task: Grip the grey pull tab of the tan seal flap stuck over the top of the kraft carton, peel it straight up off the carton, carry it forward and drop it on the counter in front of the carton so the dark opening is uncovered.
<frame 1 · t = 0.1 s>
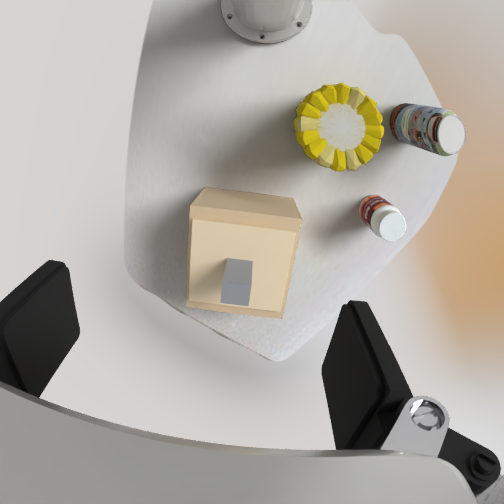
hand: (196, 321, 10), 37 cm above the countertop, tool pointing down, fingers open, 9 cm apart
pill bottle: (372, 208, 46), on the countertop
food: (322, 125, 41), on the countertop
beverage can: (406, 125, 40), on the countertop
flap: (239, 267, 39), point 10 cm above the countertop, touching carton
carton: (243, 237, 48), on the countertop
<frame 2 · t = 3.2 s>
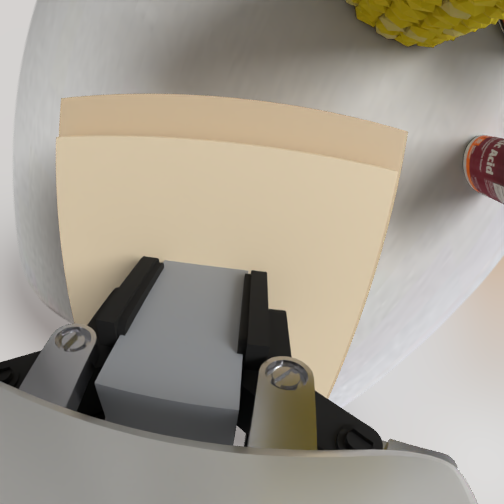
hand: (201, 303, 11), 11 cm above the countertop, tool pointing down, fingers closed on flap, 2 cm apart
pill bottle: (480, 163, 19), on the countertop
flap: (206, 288, 12), point 10 cm above the countertop, touching gripper
carton: (229, 212, 21), on the countertop
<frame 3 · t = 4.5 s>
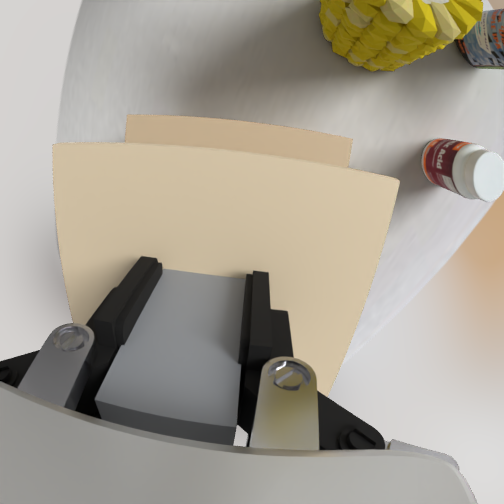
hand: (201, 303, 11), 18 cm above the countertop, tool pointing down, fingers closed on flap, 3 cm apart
pill bottle: (438, 161, 26), on the countertop
food: (359, 28, 22), on the countertop
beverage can: (472, 47, 21), on the countertop
flap: (205, 296, 12), point 17 cm above the countertop, touching gripper
carton: (235, 202, 28), on the countertop
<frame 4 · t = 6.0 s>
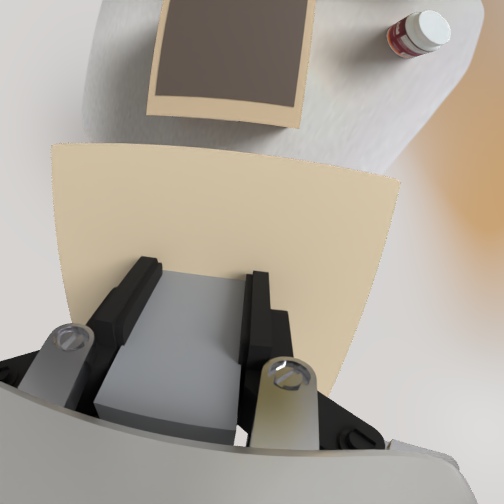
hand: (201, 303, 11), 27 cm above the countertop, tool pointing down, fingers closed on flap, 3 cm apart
pill bottle: (402, 41, 28), on the countertop
flap: (204, 297, 12), point 26 cm above the countertop, touching gripper
carton: (238, 62, 31), on the countertop
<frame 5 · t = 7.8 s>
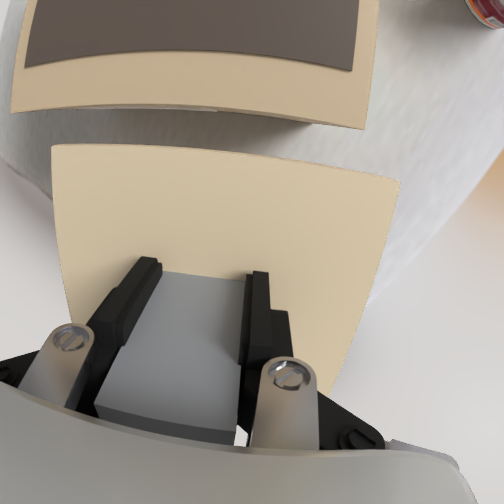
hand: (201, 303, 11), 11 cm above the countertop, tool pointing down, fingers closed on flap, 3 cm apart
pill bottle: (481, 3, 13), on the countertop
flap: (204, 298, 12), point 10 cm above the countertop, touching gripper
carton: (222, 8, 15), on the countertop
when the fingers open (4 cm above the countertop, at t = 9.3 s): flap drops 4 cm, on the countertop.
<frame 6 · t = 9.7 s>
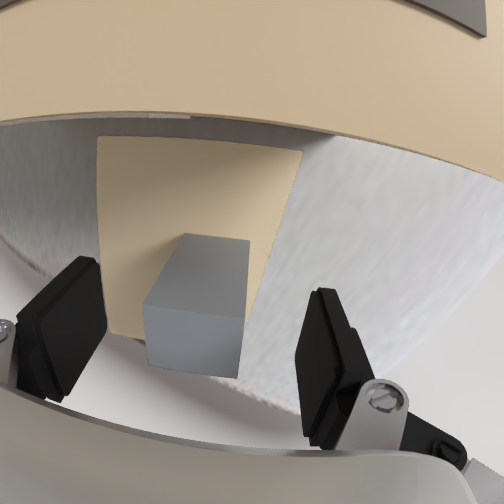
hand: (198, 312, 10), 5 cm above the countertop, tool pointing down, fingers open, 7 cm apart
flap: (216, 257, 15), on the countertop
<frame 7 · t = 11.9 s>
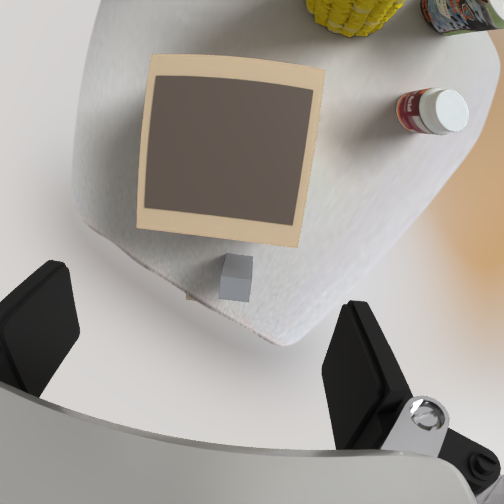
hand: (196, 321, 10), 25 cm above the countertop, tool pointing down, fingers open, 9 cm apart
pill bottle: (412, 112, 29), on the countertop
food: (338, 4, 25), on the countertop
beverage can: (439, 19, 24), on the countertop
flap: (238, 263, 37), on the countertop
carton: (234, 143, 31), on the countertop
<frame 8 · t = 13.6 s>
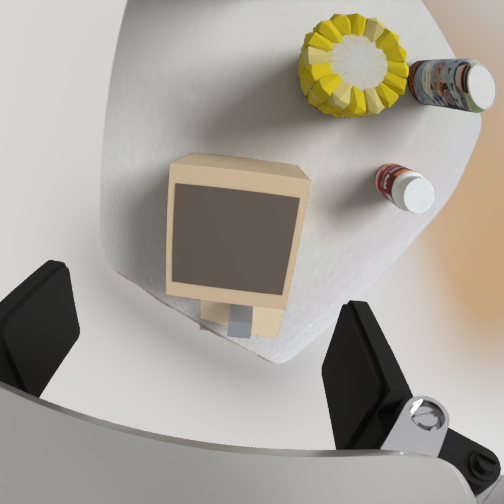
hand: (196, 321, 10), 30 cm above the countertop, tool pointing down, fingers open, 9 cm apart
pill bottle: (390, 180, 38), on the countertop
food: (330, 81, 33), on the countertop
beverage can: (425, 86, 32), on the countertop
flap: (242, 302, 46), on the countertop
carton: (238, 212, 40), on the countertop
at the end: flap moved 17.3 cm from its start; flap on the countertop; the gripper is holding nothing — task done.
